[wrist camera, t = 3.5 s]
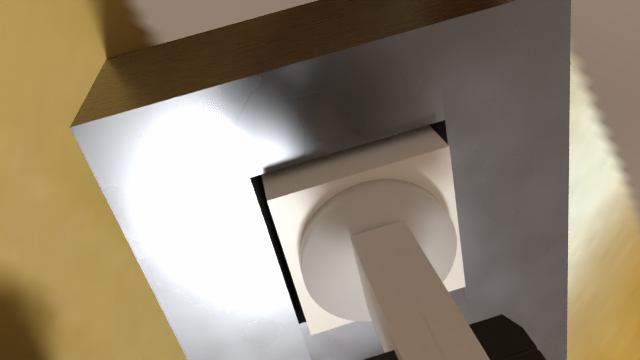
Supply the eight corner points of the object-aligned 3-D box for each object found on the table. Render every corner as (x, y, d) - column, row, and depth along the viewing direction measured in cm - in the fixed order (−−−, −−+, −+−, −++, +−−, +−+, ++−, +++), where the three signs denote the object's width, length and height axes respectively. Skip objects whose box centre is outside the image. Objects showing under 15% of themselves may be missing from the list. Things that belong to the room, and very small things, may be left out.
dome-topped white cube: (248, 116, 19) (269, 212, 14) (382, 77, 20) (458, 156, 14) (284, 228, 22) (314, 349, 16) (402, 192, 22) (473, 299, 16)
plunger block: (106, 59, 18) (69, 127, 13) (469, -43, 19) (570, -16, 14) (276, 446, 29) (292, 567, 24) (502, 372, 30) (565, 474, 25)
